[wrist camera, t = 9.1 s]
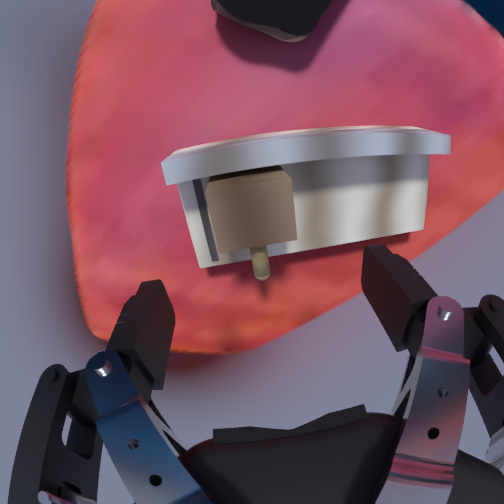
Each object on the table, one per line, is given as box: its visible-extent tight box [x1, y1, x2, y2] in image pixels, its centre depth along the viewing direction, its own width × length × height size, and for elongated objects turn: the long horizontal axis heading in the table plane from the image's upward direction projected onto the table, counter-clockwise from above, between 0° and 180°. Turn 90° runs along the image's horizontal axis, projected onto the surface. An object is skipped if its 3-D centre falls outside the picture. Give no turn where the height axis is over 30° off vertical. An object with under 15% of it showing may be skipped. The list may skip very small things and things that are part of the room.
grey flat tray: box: [161, 126, 450, 268], centre depth 21 cm, size 22×10×6 cm, turn 99°
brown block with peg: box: [205, 165, 297, 281], centre depth 19 cm, size 5×8×5 cm, turn 9°
